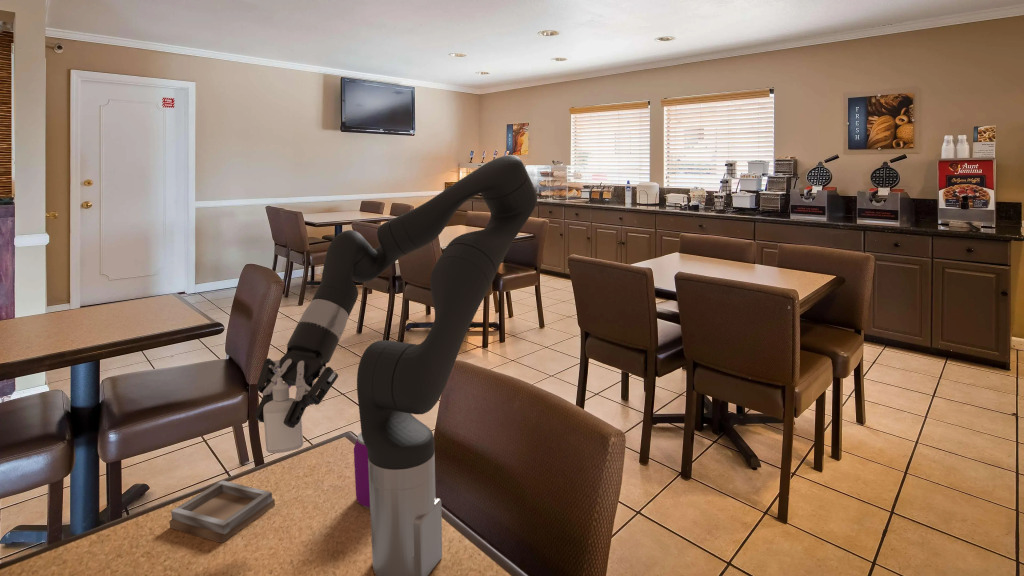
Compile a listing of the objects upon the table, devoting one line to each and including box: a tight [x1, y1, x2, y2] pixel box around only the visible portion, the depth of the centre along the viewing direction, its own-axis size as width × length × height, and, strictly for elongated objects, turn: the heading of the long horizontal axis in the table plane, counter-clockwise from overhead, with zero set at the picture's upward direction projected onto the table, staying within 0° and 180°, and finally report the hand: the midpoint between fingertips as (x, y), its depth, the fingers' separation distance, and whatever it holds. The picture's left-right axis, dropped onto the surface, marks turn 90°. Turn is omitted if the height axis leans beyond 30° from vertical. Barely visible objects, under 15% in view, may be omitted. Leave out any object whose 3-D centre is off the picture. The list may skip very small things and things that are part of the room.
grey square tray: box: [168, 479, 276, 544], centre depth 93 cm, size 11×11×3 cm
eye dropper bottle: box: [263, 378, 304, 454], centre depth 91 cm, size 4×6×12 cm
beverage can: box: [353, 432, 370, 509], centre depth 98 cm, size 8×8×12 cm
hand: (274, 422), depth 90 cm, fingers closed on eye dropper bottle, 5 cm apart
